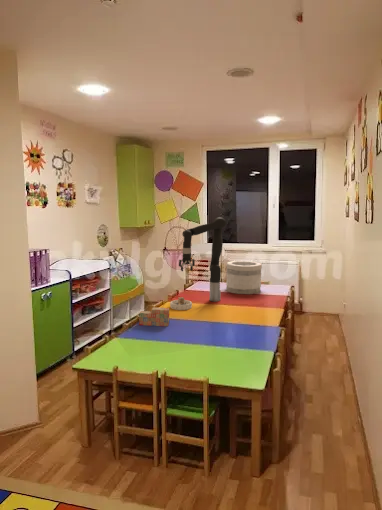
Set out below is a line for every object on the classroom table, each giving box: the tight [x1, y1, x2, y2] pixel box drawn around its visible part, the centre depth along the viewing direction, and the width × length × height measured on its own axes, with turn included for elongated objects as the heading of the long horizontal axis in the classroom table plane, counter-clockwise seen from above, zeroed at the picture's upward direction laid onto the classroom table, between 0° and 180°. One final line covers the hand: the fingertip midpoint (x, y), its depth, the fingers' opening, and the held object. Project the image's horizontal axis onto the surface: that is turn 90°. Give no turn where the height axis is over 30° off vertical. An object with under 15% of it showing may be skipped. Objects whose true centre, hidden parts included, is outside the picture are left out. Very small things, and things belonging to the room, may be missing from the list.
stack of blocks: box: [138, 307, 170, 327], centre depth 309 cm, size 21×6×12 cm, turn 85°
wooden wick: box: [177, 296, 185, 305], centre depth 357 cm, size 4×4×7 cm
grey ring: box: [169, 299, 193, 311], centre depth 357 cm, size 18×18×4 cm
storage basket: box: [225, 260, 263, 295], centre depth 423 cm, size 35×35×27 cm
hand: (186, 270), depth 372 cm, fingers open, 8 cm apart
